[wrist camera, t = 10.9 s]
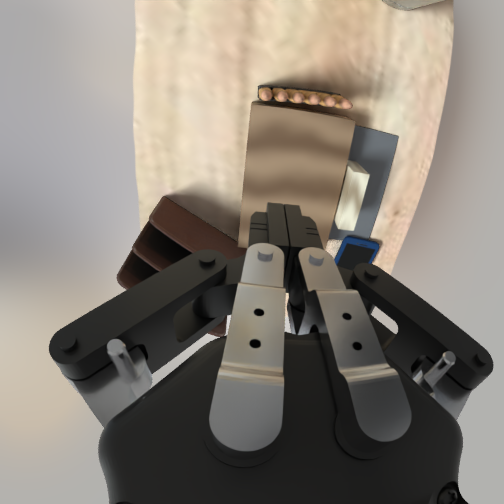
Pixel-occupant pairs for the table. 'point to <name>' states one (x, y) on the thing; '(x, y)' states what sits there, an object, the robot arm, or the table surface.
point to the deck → (294, 163)
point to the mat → (378, 167)
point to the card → (351, 196)
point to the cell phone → (355, 252)
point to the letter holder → (173, 246)
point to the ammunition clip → (303, 96)
